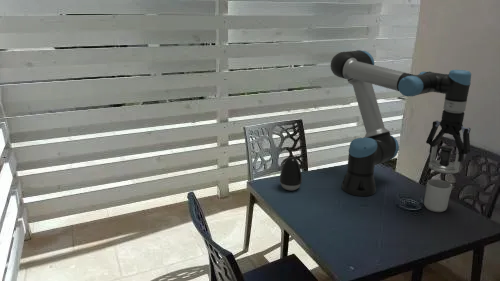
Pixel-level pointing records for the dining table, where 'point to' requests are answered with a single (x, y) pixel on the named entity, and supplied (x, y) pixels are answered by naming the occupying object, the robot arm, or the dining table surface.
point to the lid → (444, 162)
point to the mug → (437, 195)
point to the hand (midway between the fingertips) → (444, 164)
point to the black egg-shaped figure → (291, 174)
